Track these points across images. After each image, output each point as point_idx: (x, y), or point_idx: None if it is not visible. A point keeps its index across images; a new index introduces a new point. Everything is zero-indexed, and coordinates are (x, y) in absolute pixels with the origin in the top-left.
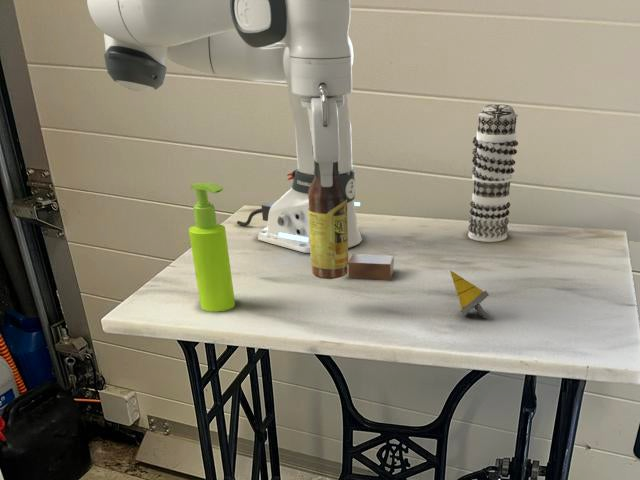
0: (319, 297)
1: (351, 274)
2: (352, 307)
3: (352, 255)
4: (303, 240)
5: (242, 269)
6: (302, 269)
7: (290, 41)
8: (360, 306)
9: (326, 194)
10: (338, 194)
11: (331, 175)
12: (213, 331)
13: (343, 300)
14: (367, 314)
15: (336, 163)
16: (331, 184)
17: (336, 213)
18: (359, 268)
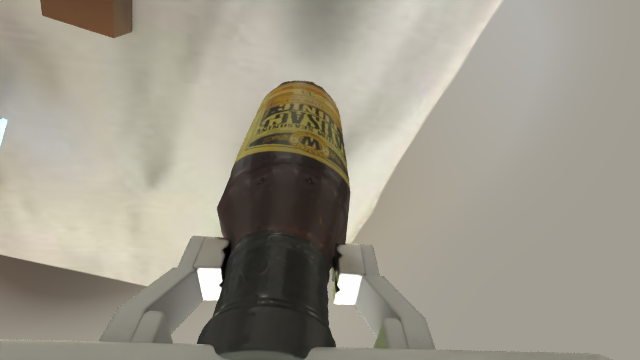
0: (242, 104)
1: (128, 26)
2: (298, 49)
3: (55, 18)
4: (4, 128)
5: (112, 209)
6: (92, 120)
7: None
8: (295, 32)
9: (340, 233)
10: (335, 197)
11: (379, 274)
12: (348, 240)
13: (260, 62)
14: (339, 24)
15: (304, 279)
16: (372, 249)
17: (347, 174)
18: (120, 7)
